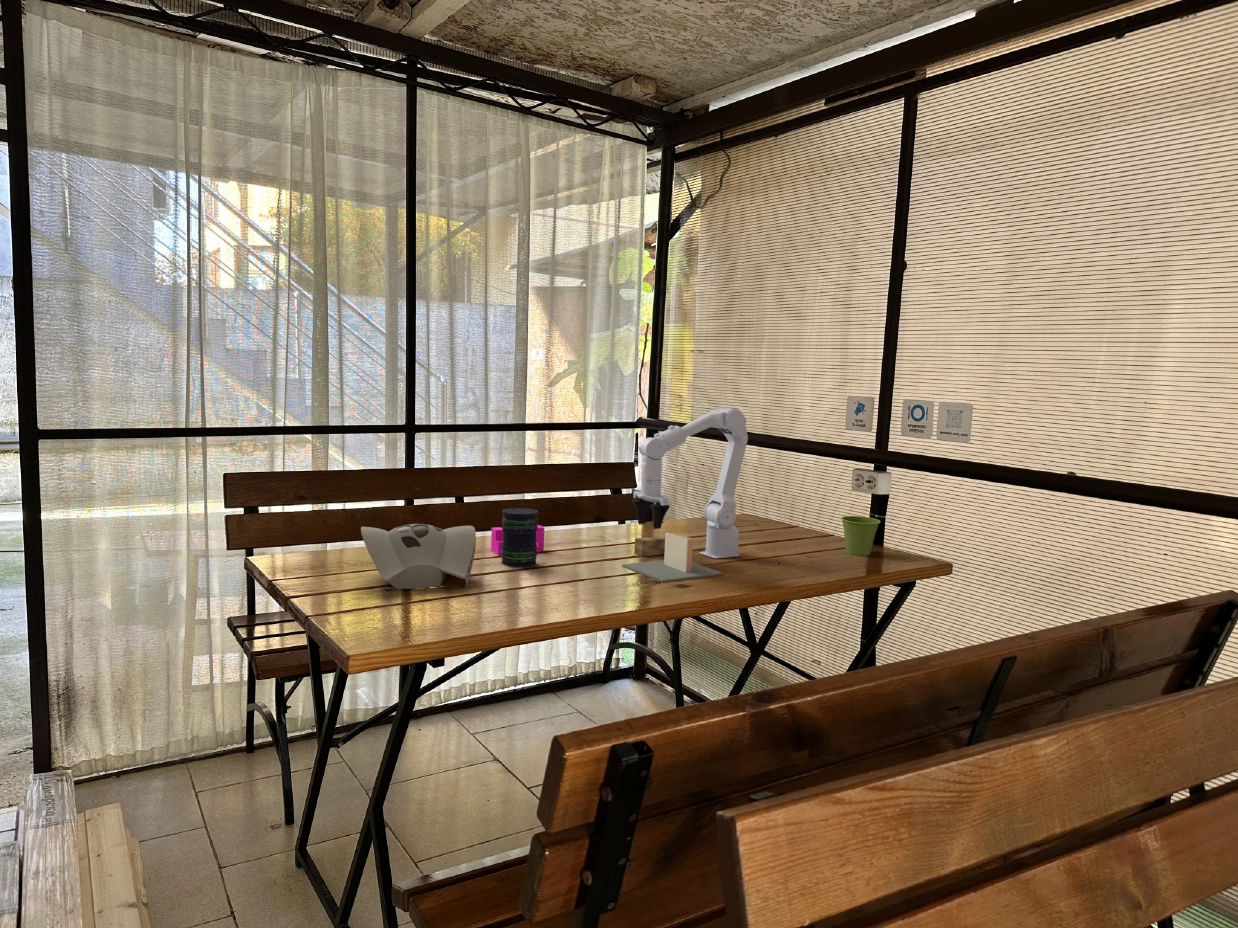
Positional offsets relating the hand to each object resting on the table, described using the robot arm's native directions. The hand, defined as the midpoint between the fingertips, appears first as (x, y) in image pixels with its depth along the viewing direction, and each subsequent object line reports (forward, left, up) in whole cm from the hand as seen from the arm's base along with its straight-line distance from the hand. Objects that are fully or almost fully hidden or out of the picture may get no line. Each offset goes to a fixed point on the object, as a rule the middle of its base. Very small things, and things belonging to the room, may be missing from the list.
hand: (649, 526), depth 248 cm
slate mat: (+2, +14, -10) cm, 17 cm away
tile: (0, +14, -9) cm, 17 cm away
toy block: (+31, -22, -10) cm, 39 cm away
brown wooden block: (-6, -5, -10) cm, 13 cm away
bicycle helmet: (+68, -4, -11) cm, 69 cm away
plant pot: (-65, +21, -10) cm, 69 cm away
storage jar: (+37, -9, -10) cm, 39 cm away
